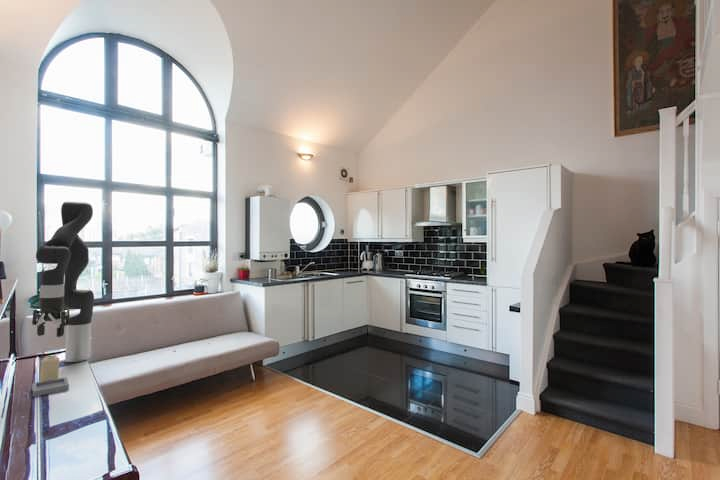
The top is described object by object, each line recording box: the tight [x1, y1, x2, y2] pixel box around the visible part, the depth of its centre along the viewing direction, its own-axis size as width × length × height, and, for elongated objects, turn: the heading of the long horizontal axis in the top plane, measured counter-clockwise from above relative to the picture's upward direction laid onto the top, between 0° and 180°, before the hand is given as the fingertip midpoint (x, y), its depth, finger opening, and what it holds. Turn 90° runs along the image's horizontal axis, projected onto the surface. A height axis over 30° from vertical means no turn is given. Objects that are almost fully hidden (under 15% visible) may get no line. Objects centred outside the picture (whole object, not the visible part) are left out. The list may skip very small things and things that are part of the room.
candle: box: [39, 355, 60, 382], centre depth 143 cm, size 6×6×10 cm
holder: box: [31, 376, 70, 398], centre depth 135 cm, size 10×10×2 cm
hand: (50, 336), depth 143 cm, fingers open, 8 cm apart
